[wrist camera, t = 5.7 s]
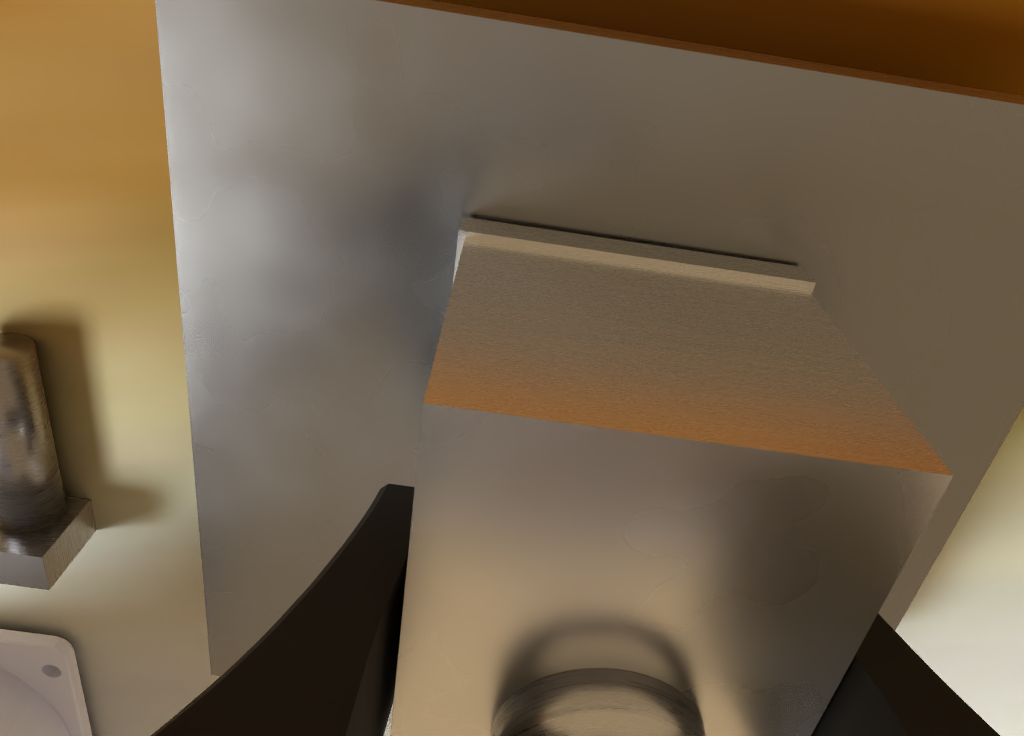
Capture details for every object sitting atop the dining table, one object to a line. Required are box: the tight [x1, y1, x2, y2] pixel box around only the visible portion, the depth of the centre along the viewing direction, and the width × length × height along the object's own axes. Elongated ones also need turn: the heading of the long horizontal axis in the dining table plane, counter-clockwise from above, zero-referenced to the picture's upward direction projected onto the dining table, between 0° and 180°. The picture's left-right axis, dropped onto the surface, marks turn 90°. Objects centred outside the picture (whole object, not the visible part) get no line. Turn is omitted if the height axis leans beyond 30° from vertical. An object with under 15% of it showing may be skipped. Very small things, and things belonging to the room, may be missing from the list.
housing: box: [390, 217, 953, 736], centre depth 11 cm, size 5×9×6 cm, turn 172°
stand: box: [155, 0, 1024, 676], centre depth 15 cm, size 14×14×3 cm
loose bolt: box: [0, 333, 96, 590], centre depth 16 cm, size 5×2×2 cm, turn 172°
